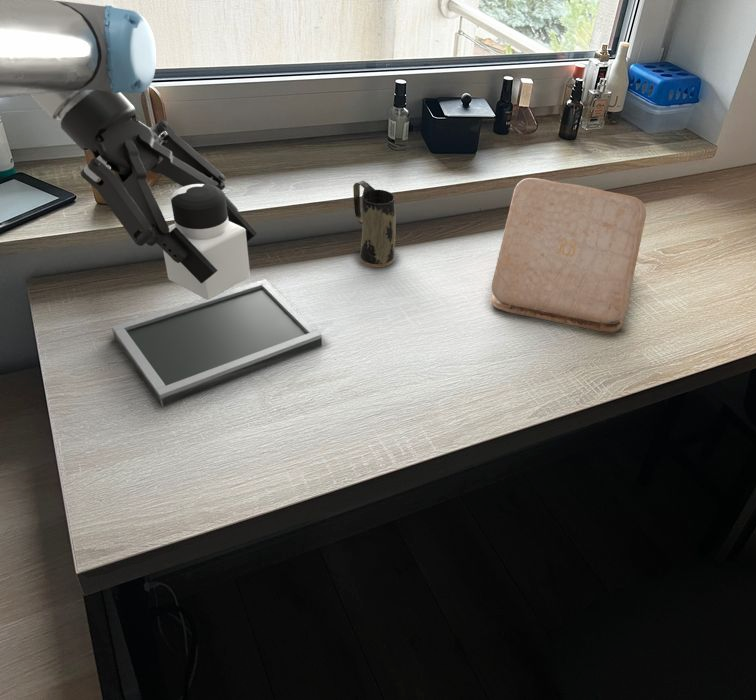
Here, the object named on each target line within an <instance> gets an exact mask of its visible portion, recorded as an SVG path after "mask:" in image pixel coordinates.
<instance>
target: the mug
mask: <svg viewBox="0 0 756 700" xmlns="http://www.w3.org/2000/svg"><path fill="white" fill-rule="evenodd" d="M352 187H353V189H352V190H353V206H354V215H355V219H356V221H357V222H358V223H359V224H361V228H362V229H361V242H360V243H361V244H360V251H359V260H360V262H361V263H362V264H363V265H365V266H367V267H370V268H384V267H388V266H390V265H392V264H393V262H394V259H395V249H396V227H397V225H396V223H397V222H396V200H395V195H394V194H393V193H392V192H390V191H389V190H388V191H387V190H385V189H384V190H383V189H375V188H374V187H373V186H371V185H370V183H368V182H367V181H365V180H361V181H358V182H355V183H354V184H353V186H352ZM361 187H362V188H363V191H362V195H361ZM361 204H362V212H361ZM361 213H362V214H361Z"/></svg>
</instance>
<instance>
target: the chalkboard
mask: <svg viewBox="0 0 756 700" xmlns="http://www.w3.org/2000/svg"><path fill="white" fill-rule="evenodd" d="M111 330H112V334H113V338H114V340H115V341H116V343H117V344H118V345H119V347H120V349H121V350H122V351H123V353H124V354H125V355H126V357H127V358H128V360H129V361H130V363H131V365H132V366H133V367H134V368H135V370H136V371H137V373H138V375H139V376H140V377H141V378H142V380H143V381H144V383H145V385H146V386H147V387H148V389H149V390H150V391H151V393H152V394H153V396H154V397H155V398H156V400H157V401H158V403H159V404H160V406H161V407H163V408H164V407H166V406H169V405H171V404H175V403H177V402H179V401H182V400H184V399H187V398H190V397H192V396H195V395H198V394H201V393H203V392H206V391H208V390H210V389H213V388H216V387H219V386H221V385H224V384H226V383H228V382H231V381H234V380H236V379H239V378H242V377H244V376H247V375H250V374H252V373H255V372H258V371H260V370H262V369H265V368H268V367H271V366H274V365H275V364H279V363H280V362H284V361H287V360H289V359H291V358H294V357H297V356H300V355H302V354H304V353H307V352H310V351H313V350H315V349H317V348H320V347H322V346H323V334H322V333H321V332H320V331H319V330H318V329H317V328H316V327H315V326H314V325H313V324H312V323H311V322H310V321H309V320H308V319H306V317H305V316H304V315H303V314H301V312H299V310H298V309H296V307H295V306H294V305H292V304H291V303H290V302H289V301H288V299H287V298H285V297H284V296H283V295H282V294H281V293H280V291H278V290H277V289H276V287H274V285H272V284H271V283H270V282H269V281H268V280H267V279H266V278H264V279H260V280H257V281H254V282H250V283H247V284H244V285H241V286H238V287H235V288H232V289H231V288H230V289H227V290H225V291H224V292H222V293H220V294H218V295H216V296H214V297H213V298H211V299H209V300H207V299H205V298H203V297H201V298H199V299H196V300H193V301H189V302H186V303H183V304H180V305H177V306H173V307H170V308H167V309H163V310H160V311H158V312H154V313H151V314H148V315H144V316H141V317H138V318H135V319H131V320H128V321H124V322H121V323H119V324H115V325H112V326H111Z"/></svg>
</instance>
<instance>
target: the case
mask: <svg viewBox="0 0 756 700" xmlns="http://www.w3.org/2000/svg"><path fill="white" fill-rule="evenodd" d="M510 202H511V203H510V206H509V211H508V214H507V218H506V221H505V227H504V231H503V235H502V240H501V244H500V249H499V252H498V257H497V261H496V265H495V269H494V273H493V277H492V281H491V292H492V295H491V304H492V305H493V307H494V308H496V309H497V310H499V311H502V312H506V313H511V314H517V315H520V316H526V317H531V318H535V319H540V320H545V321H551V322H555V323H560V324H564V325H570V326H574V327H578V328H583V329H589V330H593V331H599V332H602V333H603V332H604V333H615V332H617V331H619V330H620V329H621V328H622V327H623V322H624V318H625V316H626V314H627V311H628V306H629V301H630V297H631V291H632V287H633V282H634V281H633V280H634V277H635V270H636V265H637V261H638V256H639V251H640V246H641V242H642V236H643V233H644V227H645V222H646V218H647V209H646V206H645V204H644V201H642V200H641V199H640V198H638V197H636V196H633V195H628V194H624V193H617V192H612V191H607V190H603V189H600V188H594V187H590V186H586V185H585V186H584V185H580V184H574V183H566V182H559V181H554V180H549V179H544V178H536V177H527V178H523V179H522V180H520V181H519V182H518V183H517V184H516V186H515V187H514V190H513V193H512V197H511V201H510Z"/></svg>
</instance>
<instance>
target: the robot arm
mask: <svg viewBox="0 0 756 700" xmlns="http://www.w3.org/2000/svg"><path fill="white" fill-rule="evenodd" d="M156 66H157V53H156V43H155V38H154V35H153V31H152V29H151V26H150V24H149V23H148V21H147V20H146V19H145V17H144V16H143V15H141V14H140V13H139V12H137V11H135V10H131V9H126V8H125V9H124V8H119V7H113V6H112V5H97V4H90V3H89V4H87V3H81V2H80V3H79V2H70V1H62V0H0V99H3V98H4V99H5V98H14V97H24V96H30V97H31V98H32V99H33V100H34V102H36V104H37V105H38V106H39V107H40V108H41V109H42V110H43V111H44V112H45V113H46V114H47V115H48V116H49V117H50V118H51V119H52V120H54V121H60V128H61V130H62V131H63V132H64V133H65V134H66V135H67V136H68V137H69V138H70V139H71V140H72V141H73V142H74V143H75V144H76V146H78V148H80V149H81V150H82V151H85V152H90V153H91V154H92V157H93V158H91V159H90V161H88V162H87V164H86V165H84V167H83V168H82V169H81V171H80V172H79V173H80V176H81V177H82V178H83V179H84V180H85V181H86V182H87V183H89V184H90V185H91V186H92V188H94V189H95V190H96V191H97V192H98V193H99V195H100V196H101V198H102V199H103V200H104V202H105V203H106V205H107V206H108V207H109V209H110V210H111V211H112V213H113V214H114V216H115V217H116V219H117V220H118V221H119V223H120V224H121V226H122V227H123V228H124V229H125V231H126V232H127V233H128V235H129V236H130V238H131V239H132V241H133V242H134V243H135V245H137V246H138V247H139V246H140V247H143V246H144V245H145V244H146V245H148V246H150V247H153V246H155V245H156V244H157V246H159V247H160V248H161V249H162V251H163V250H164V251H165V252H166V253H167V254H168V255H169V256H170V257H171V258H172V259H173V260H174V261H175V262H177V263H180V262H181V263H182V264H183V265H184V266H185V267H186V268H187V270H188V271H189V272H190V273H191V274H192V275H193V276H194V277H195V278H196V279H197V280H198V281H199V282H200V283H201V284H202V283H203V282H204V281H206V280H207V279H208V278H209V277H211V276H212V275H213V274H214V273H216V272H217V271H218V270H217V269H216V268H215V267H214V266H213V265H212V264H211V263H210V262H209V261H208V260H207V259H206V258H205V257H204V256H203V255H202V254H201V252H200V251H199V250H198V249H197V248H196V247H195V246H194V245H193V244H192V243H191V242H190V241H189V240H188V239H187V238H186V237H185V236H184V235H183V234H182V233H181V232H180V231H179V230H178V228H177V227H175V228H174V229H173V230H172V231H171V232H169V227H168V226H169V225H168V223H167V221H166V218H165V217H164V214H163V212H162V210H161V208H160V205H159V204H158V202H157V199H156V197H155V195H154V193H153V191H152V188H151V187H150V185H149V182H148V180H147V175H148V172H149V171H150V172H152V173H153V174H157V175H159V174H161V175H163V176H164V177H166V178H168V179H169V180H171V181H173V182H174V183H176V184H177V185H180V186H181V187H184V186H187V185H192V184H206V185H212V186H215V187H217V188H219V189H220V190H222V191H223V190H224V189H225V188H226V183H225V181H227V180H226V176H225V175H224V174H223V173H222V172H221V171H219V169H217V168H216V167H215V166H214V165H212V163H211V162H209V161H208V160H207V159H206V158H205V157H204V156H202V155H201V154H200V153H199V152H198V151H196V150H195V149H194V147H192V146H191V145H190V144H188V143H187V142H186V141H185V140H183V138H181V137H180V136H179V135H178V134H177V133H176V132H175V130H174V129H173V128H172V126H171V125H170V124H169V123H168V121H166V120H165V119H160V120H159V121H158V122H157V123H156V124H155V125H153V126H147V125H146V124H144V123H143V122H141V121H140V120H138V118H137V116H136V108H135V106H134V105H133V104H132V103H131V102H130V101H129V99H128V98H126V96H125V95H124V94H142V93H143V92H145V91H147V89H148V88H149V87H150V86H151V84H152V83H153V80H154V77H155V73H156ZM226 204H227V213H228V221H230V222H232V223H234V224H237V225H239V226H241V227H243V228H245V230H246V239H247V243H248V242H249V241H251V240H252V239H253V238H254V237H256V235H258V232H257V231H256V230H255V229H254V228H253V227H252V226H251V224H249V222H247V221H246V219H245V218H244V216H242V215H241V214H240V213H239V212H240V211H239V209H238V208H237V207H236V205H235V204H234V203H233V202H232V201H231V199H229V197H228V196H226Z"/></svg>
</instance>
